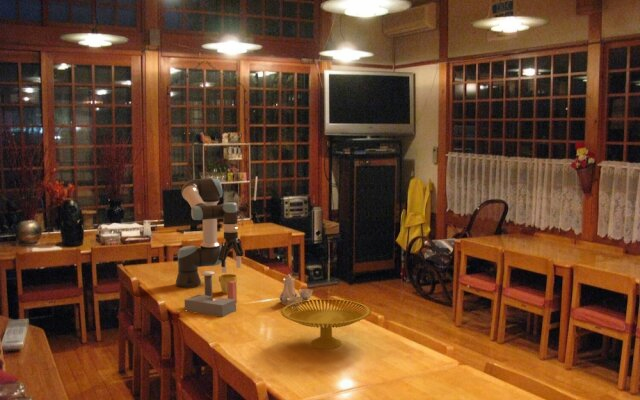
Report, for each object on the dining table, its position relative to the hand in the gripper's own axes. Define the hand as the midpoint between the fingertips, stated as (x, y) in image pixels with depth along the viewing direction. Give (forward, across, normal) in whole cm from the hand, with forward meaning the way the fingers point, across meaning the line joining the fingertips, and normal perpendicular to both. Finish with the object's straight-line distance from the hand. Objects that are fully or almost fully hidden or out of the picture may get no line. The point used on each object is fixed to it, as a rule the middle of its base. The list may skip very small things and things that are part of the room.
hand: (231, 270), depth 354 cm
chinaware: (+19, +15, -30) cm, 39 cm away
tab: (+18, 0, 0) cm, 18 cm away
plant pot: (+18, +19, +16) cm, 31 cm away
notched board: (+18, -17, +2) cm, 25 cm away
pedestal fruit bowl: (+19, -36, -75) cm, 85 cm away
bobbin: (+18, -5, +12) cm, 23 cm away
